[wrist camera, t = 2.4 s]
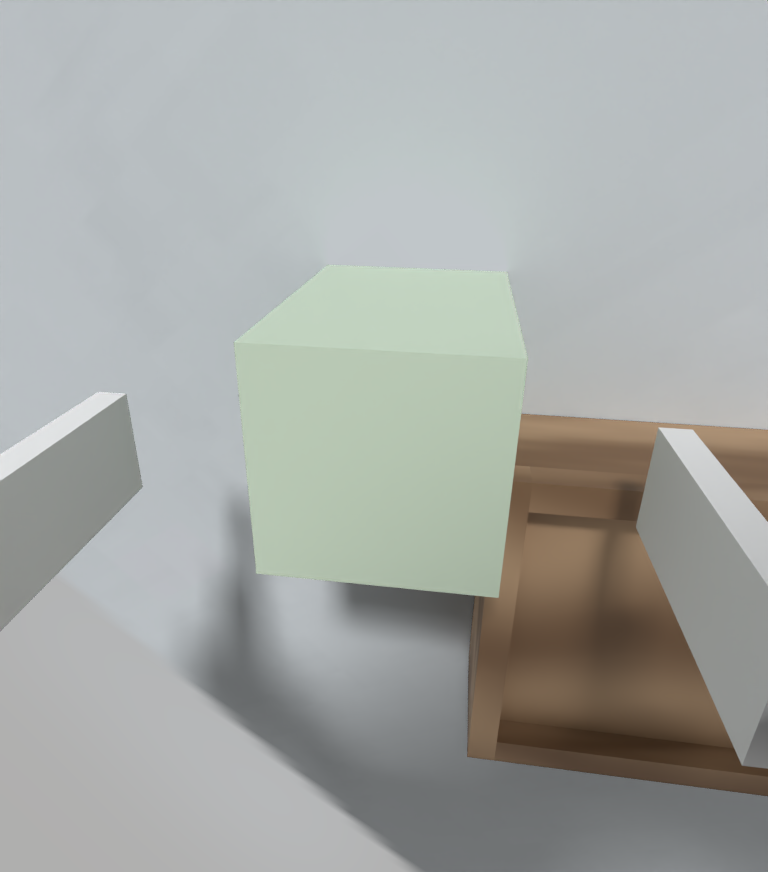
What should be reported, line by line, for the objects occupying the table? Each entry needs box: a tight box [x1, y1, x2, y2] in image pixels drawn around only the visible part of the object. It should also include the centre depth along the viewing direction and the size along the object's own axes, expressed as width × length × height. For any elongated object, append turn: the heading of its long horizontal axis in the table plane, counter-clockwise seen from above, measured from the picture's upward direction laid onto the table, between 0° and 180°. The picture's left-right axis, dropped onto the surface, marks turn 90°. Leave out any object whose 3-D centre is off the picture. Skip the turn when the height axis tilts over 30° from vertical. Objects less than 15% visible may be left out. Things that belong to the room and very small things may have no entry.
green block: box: [234, 265, 528, 598], centre depth 18 cm, size 6×6×9 cm
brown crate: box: [467, 414, 768, 796], centre depth 22 cm, size 12×12×5 cm
